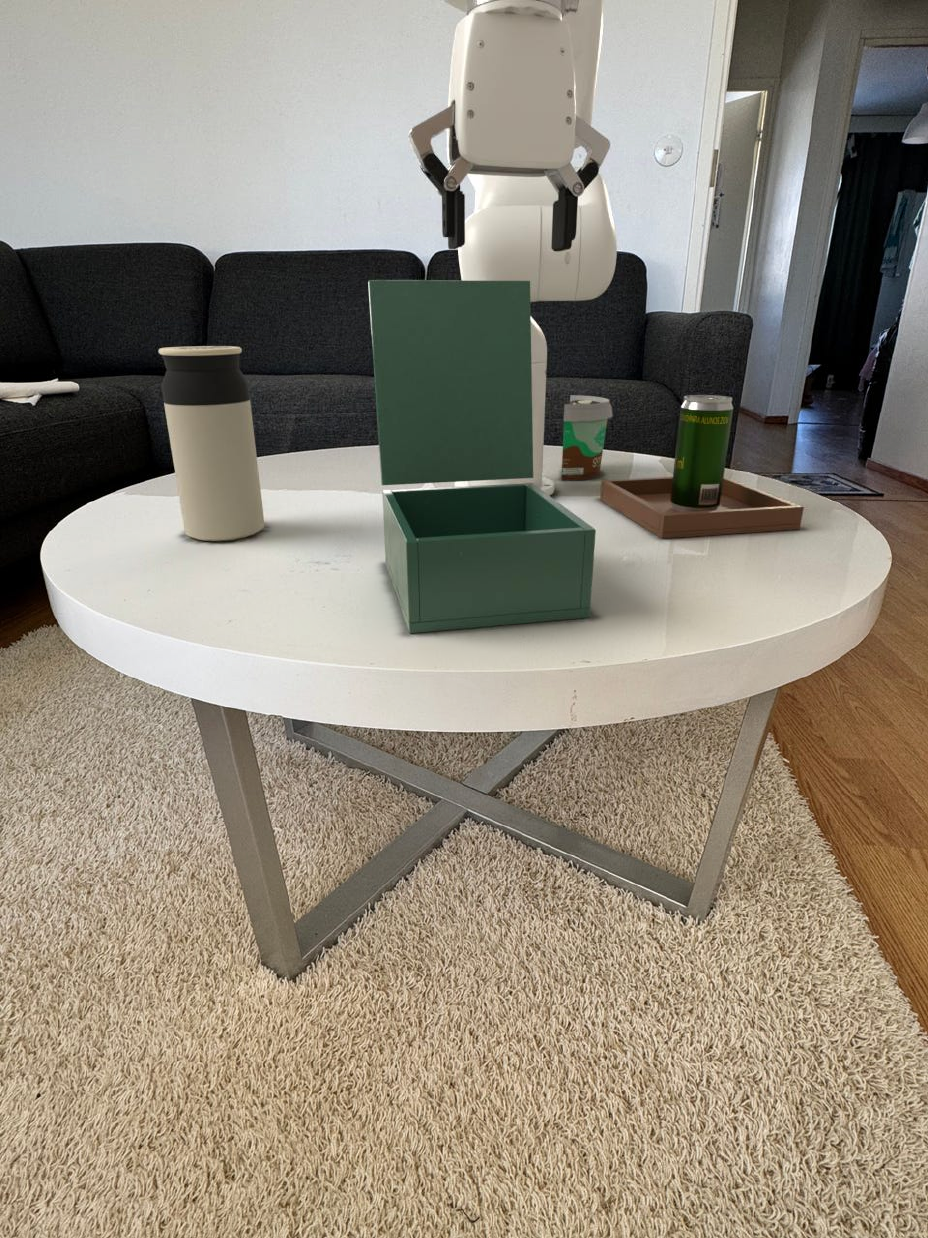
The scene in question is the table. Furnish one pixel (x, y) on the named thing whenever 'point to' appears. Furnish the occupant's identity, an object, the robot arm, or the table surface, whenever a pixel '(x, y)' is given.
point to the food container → (584, 436)
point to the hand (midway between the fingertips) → (509, 248)
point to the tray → (734, 515)
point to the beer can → (701, 452)
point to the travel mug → (212, 442)
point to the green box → (486, 556)
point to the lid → (452, 380)
